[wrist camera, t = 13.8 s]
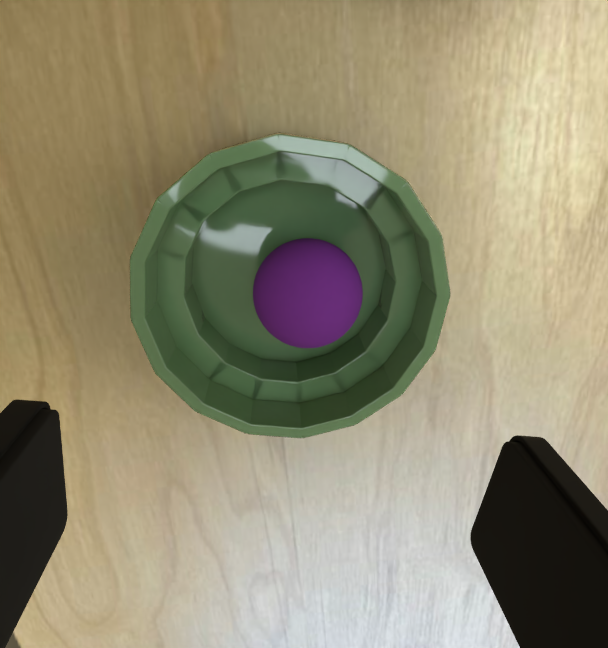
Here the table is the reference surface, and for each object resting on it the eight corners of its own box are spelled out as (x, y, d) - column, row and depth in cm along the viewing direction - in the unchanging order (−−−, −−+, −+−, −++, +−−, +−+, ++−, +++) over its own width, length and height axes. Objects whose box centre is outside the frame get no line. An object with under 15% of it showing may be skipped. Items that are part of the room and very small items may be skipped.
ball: (235, 323, 23) (268, 372, 19) (244, 224, 21) (282, 254, 17) (325, 320, 25) (371, 363, 21) (340, 229, 23) (394, 257, 19)
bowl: (157, 372, 26) (131, 425, 21) (160, 115, 21) (127, 111, 16) (387, 392, 27) (409, 447, 22) (443, 156, 22) (486, 163, 17)
